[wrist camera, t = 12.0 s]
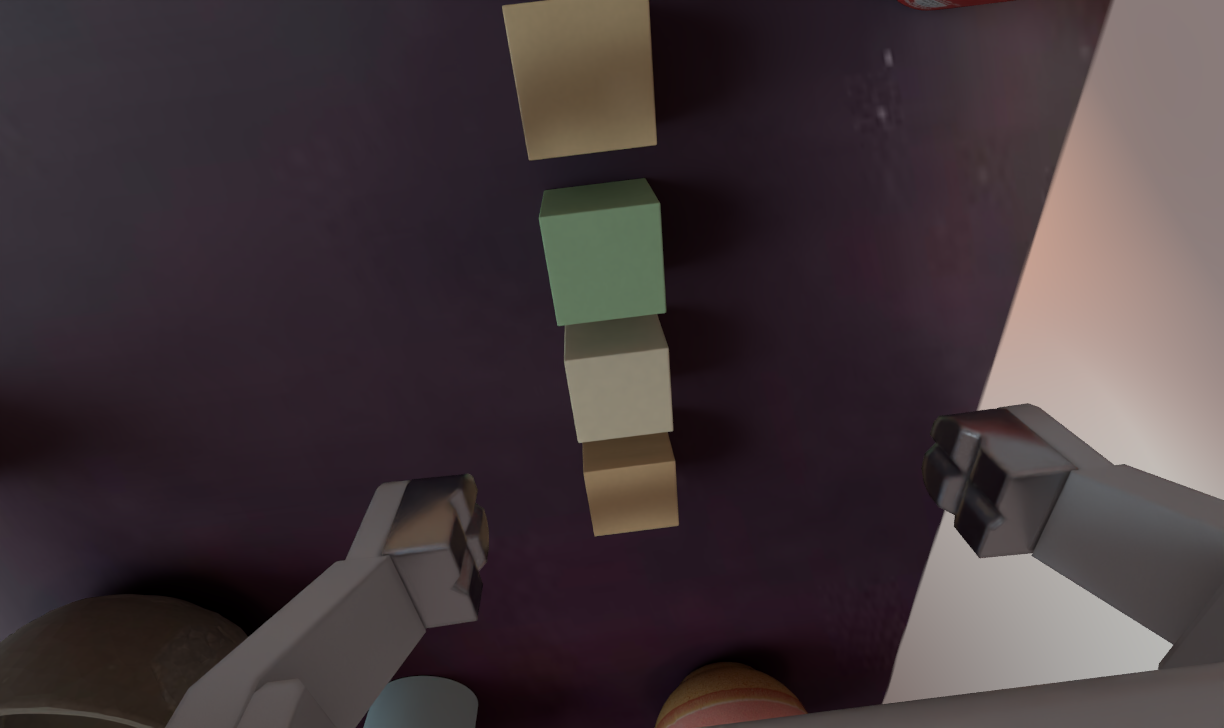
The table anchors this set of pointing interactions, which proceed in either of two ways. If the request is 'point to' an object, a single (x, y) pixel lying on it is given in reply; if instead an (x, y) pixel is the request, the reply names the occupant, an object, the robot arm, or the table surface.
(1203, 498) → the robot arm
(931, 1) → the beverage can
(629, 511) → the line block
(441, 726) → the mug
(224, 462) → the table surface
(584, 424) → the line block
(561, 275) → the green block
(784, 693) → the vase
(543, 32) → the line block
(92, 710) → the bowl
